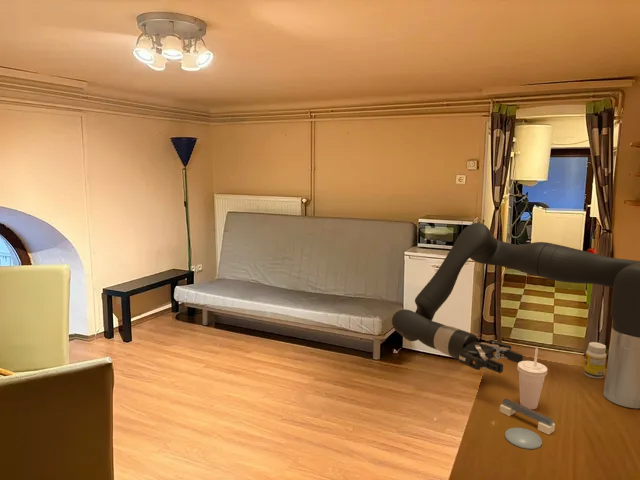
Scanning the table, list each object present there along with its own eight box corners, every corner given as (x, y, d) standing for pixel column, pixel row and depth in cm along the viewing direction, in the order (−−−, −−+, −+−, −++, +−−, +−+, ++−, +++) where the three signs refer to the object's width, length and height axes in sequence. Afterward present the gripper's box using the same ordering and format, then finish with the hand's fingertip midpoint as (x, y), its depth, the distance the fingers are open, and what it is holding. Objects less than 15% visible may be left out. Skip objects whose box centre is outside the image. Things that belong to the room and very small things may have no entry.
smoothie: (546, 413, 111) (552, 355, 109) (516, 410, 112) (521, 353, 110) (540, 399, 117) (545, 344, 115) (511, 396, 119) (516, 342, 116)
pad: (510, 425, 106) (510, 423, 106) (545, 436, 102) (545, 435, 102) (500, 440, 101) (501, 439, 101) (537, 453, 97) (537, 451, 97)
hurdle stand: (499, 411, 112) (500, 405, 112) (505, 408, 113) (506, 401, 113) (548, 434, 103) (549, 427, 103) (554, 430, 104) (555, 423, 104)
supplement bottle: (585, 369, 134) (588, 340, 132) (604, 374, 131) (608, 344, 130) (582, 375, 130) (585, 345, 128) (602, 380, 127) (606, 350, 126)
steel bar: (502, 404, 112) (502, 399, 112) (505, 403, 112) (505, 398, 112) (549, 426, 103) (550, 421, 103) (552, 424, 104) (553, 419, 104)
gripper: (439, 335, 124) (496, 356, 112) (472, 323, 133) (529, 342, 121) (437, 363, 126) (494, 387, 113) (471, 349, 135) (527, 370, 122)
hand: (512, 364), depth 117 cm, fingers open, 8 cm apart
